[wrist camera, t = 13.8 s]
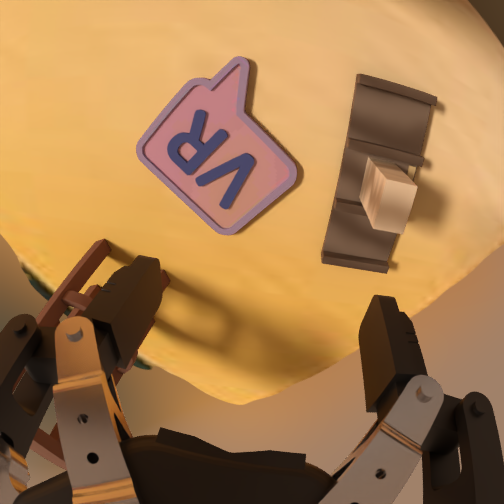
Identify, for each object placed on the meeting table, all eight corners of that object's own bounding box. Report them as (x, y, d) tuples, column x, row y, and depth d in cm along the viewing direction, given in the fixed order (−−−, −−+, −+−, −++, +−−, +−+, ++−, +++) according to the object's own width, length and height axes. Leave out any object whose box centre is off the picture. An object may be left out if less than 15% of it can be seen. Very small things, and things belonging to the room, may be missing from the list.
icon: (335, 150, 35) (225, 241, 45) (333, 148, 37) (227, 236, 46) (226, 41, 30) (130, 151, 39) (228, 43, 31) (135, 149, 40)
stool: (-43, 383, 23) (0, 409, 17) (68, 251, 52) (140, 226, 46) (43, 459, 32) (121, 494, 26) (117, 325, 61) (191, 317, 55)
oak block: (368, 156, 35) (386, 179, 27) (395, 163, 35) (419, 186, 27) (359, 197, 38) (373, 228, 30) (385, 202, 38) (404, 234, 30)
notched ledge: (356, 74, 30) (360, 73, 28) (429, 95, 30) (437, 97, 28) (321, 253, 44) (321, 263, 42) (383, 264, 44) (386, 273, 42)
